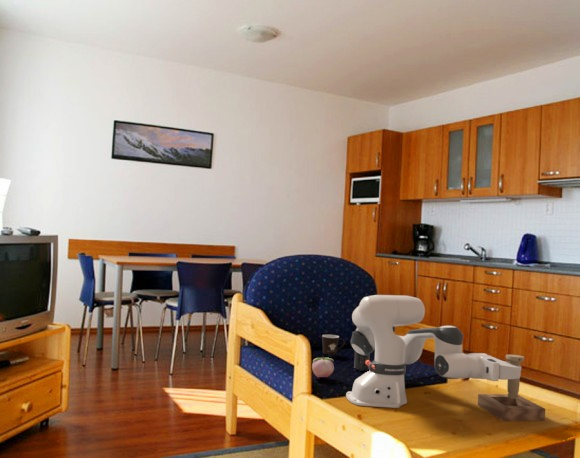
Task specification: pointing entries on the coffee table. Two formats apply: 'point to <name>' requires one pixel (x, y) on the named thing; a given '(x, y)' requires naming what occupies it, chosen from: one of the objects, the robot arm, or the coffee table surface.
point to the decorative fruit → (322, 367)
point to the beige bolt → (514, 383)
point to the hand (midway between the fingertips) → (516, 366)
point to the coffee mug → (331, 344)
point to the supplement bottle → (360, 361)
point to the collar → (511, 407)
